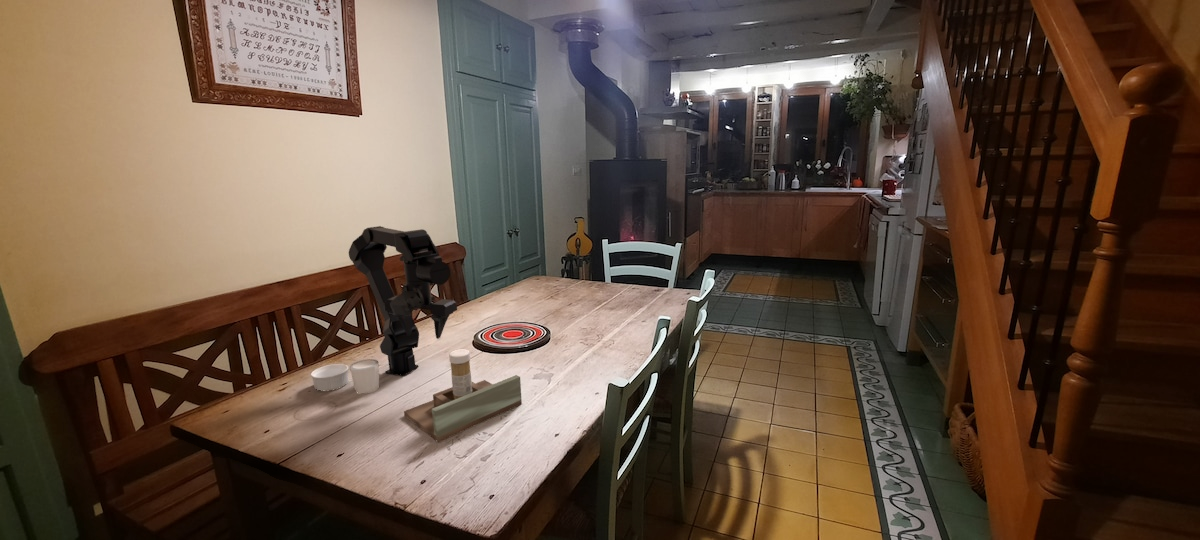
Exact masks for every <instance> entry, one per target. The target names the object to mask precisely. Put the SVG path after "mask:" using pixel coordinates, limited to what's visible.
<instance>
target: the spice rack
mask: <svg viewBox="0 0 1200 540" xmlns="http://www.w3.org/2000/svg"><path fill="white" fill-rule="evenodd" d="M521 387H522V385H521V376H520V375H517V374H515V375H513V376H510V377H508V378H505V379H502V380H501V381H498V382H496V383H491V382H489V381H487V380H486V379H483V380H481V381H478V382H476V383H475V382H473V381H472V393H470V394H468V395H465V396H463V397H460V398H458V399H455V400H454V395H453V387H449V388H447V389H446V388H445V389H444V390H441V391H439V392H435V393H434V394H432V399H431V400H429V401H427V402H425V403H422V404H420V405H417V406H414V407H412V408H409V409H406V410H403V415H404V417H405V418H407V420H409V421H410V422H411V423H413V424H415V425H416V426H417V427H418V428H419V429H421V430H422V431H423V432H424V433H425V434H427V435H428V436H429V437H431V438H432V439H434V441H436V442H438V443H440V442H443V441H444V440H447V439H449V438H451V437H453V436H455V435H457V434H460V433H462V432H464V431H466V430H468V429H470V428H472V427H475V426H477V425H478V424H479V425H480V424H481V423H484V422H486V421H488V420H489V419H492V418H494V417H496V416H497V417H498V416H499V415H501V414H503V413H505V412H508V411H510V410H512V409H514V408H517V407H519V406H521V405H523V403H522V402H523V401H522V388H521Z"/></svg>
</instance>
